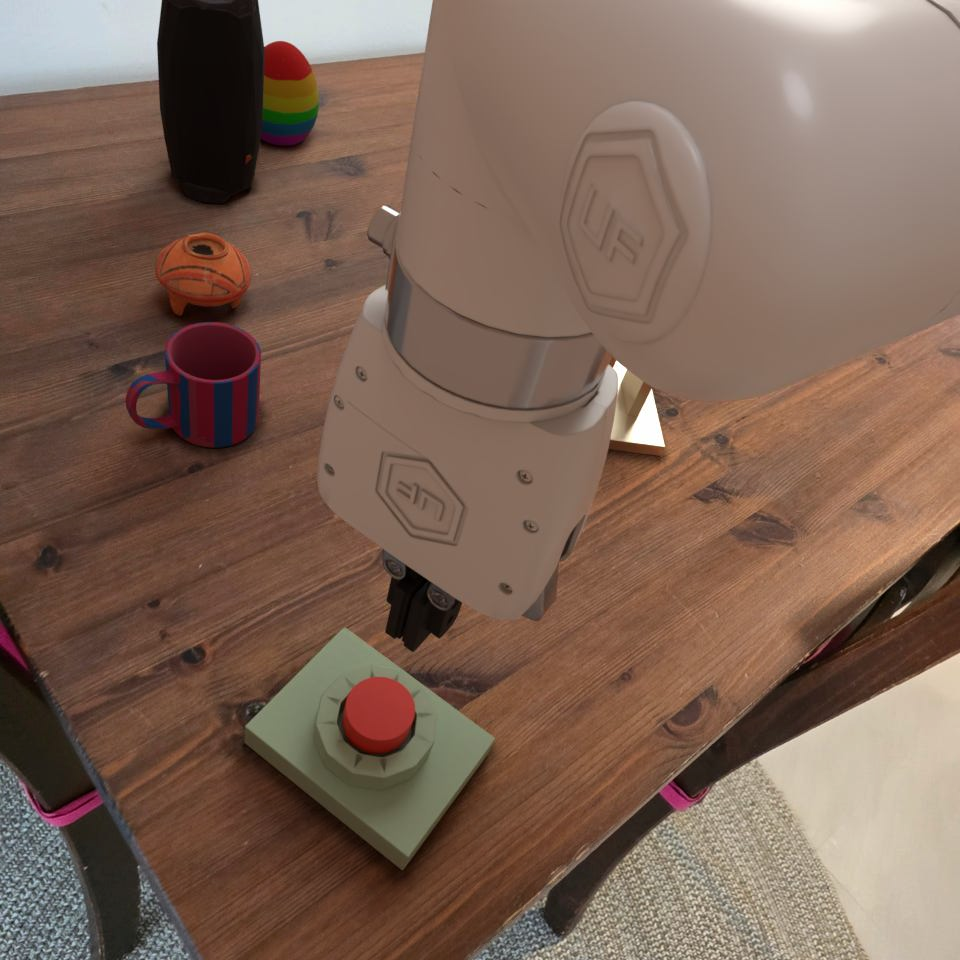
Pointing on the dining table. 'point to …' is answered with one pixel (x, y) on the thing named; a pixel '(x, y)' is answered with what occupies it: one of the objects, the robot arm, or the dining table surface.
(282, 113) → the decorative egg
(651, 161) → the robot arm
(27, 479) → the dining table surface
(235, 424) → the cup
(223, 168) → the portable speaker
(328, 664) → the switch box
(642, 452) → the switch bracket
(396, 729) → the button
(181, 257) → the pot
